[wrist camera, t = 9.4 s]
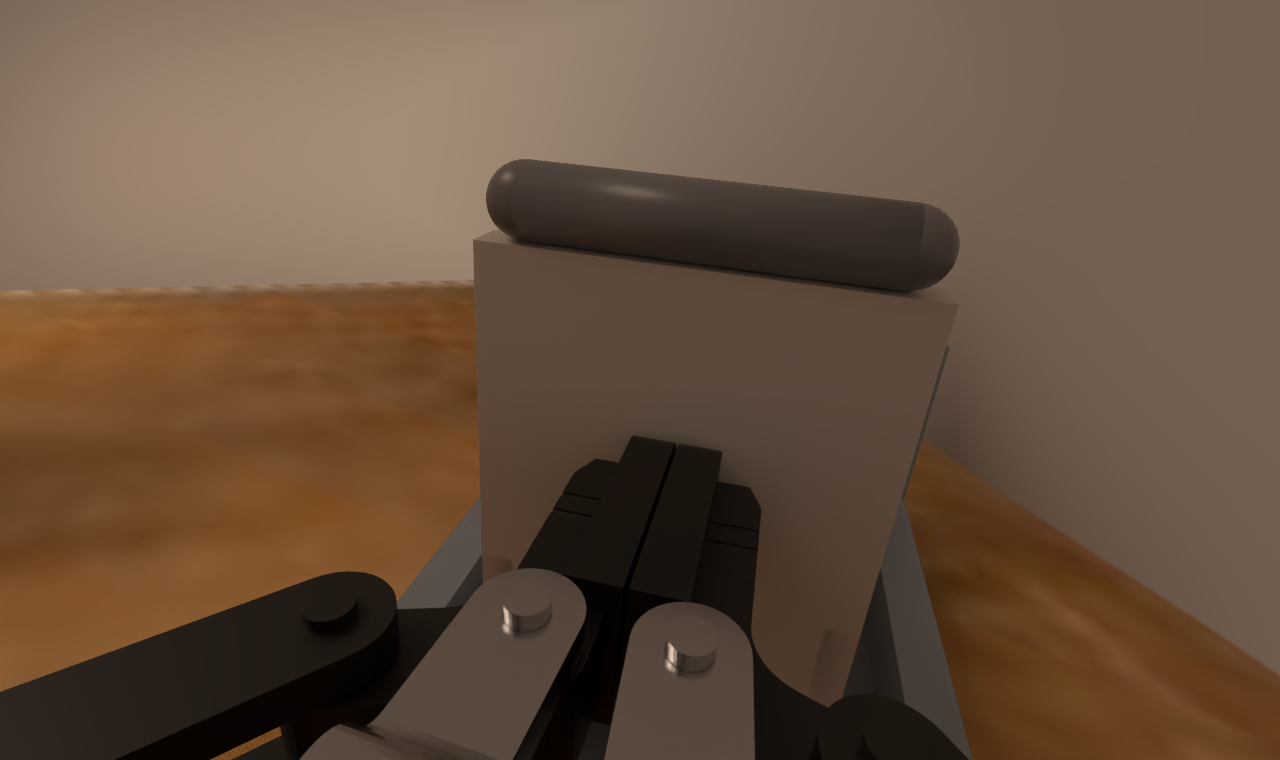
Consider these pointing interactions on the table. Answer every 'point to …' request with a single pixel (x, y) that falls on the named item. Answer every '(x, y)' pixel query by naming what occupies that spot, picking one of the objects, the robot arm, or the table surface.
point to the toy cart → (715, 369)
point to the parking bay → (886, 652)
